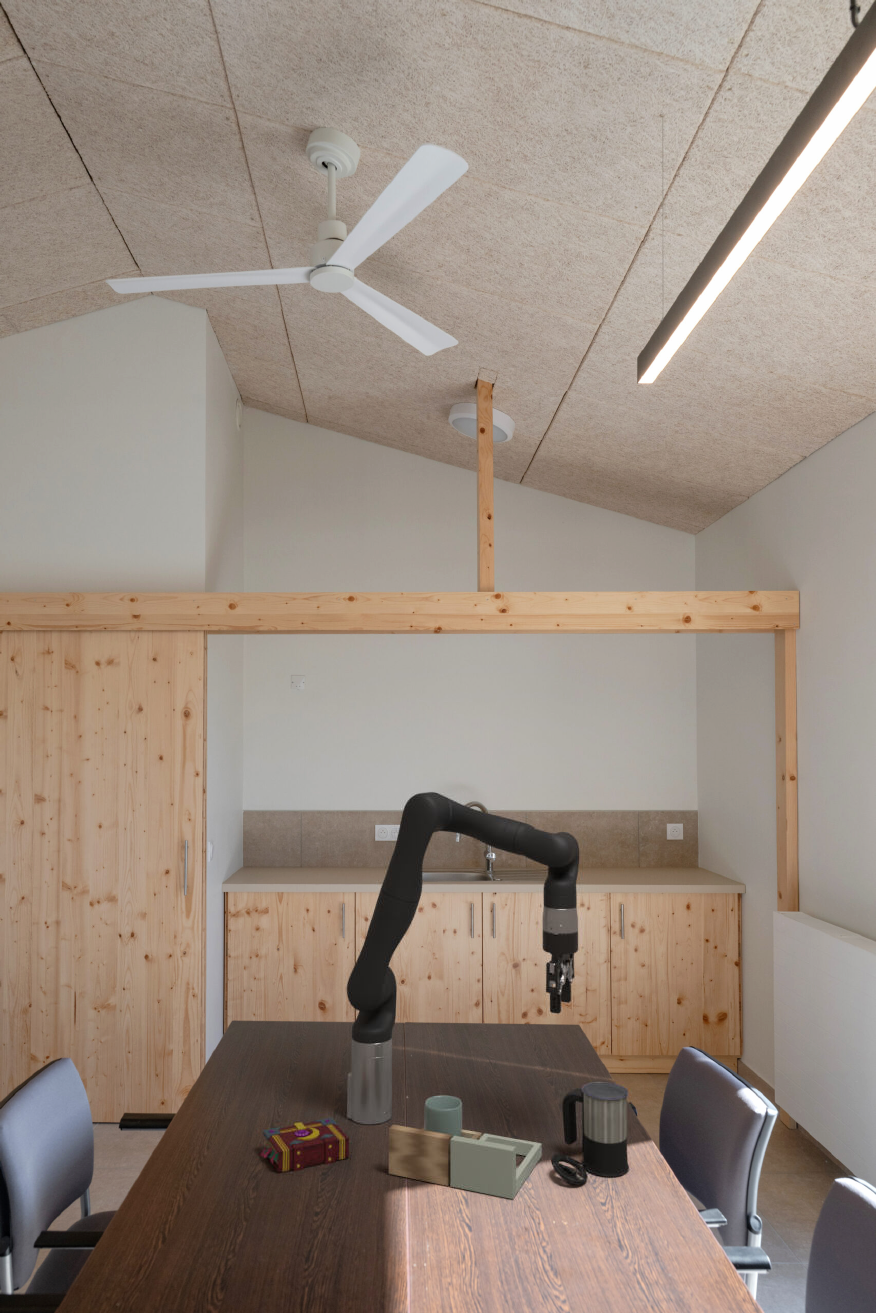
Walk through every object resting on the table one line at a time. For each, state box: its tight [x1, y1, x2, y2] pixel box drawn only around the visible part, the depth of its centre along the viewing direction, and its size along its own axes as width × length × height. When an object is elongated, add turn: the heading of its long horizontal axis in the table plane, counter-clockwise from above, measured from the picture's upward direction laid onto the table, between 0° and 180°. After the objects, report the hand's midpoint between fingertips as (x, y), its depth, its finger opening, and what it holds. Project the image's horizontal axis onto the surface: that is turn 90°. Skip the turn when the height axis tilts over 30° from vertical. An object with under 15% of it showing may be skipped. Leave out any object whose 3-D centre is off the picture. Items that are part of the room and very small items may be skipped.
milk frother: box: [550, 1081, 630, 1185], centre depth 176 cm, size 14×16×15 cm
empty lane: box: [449, 1133, 543, 1200], centre depth 176 cm, size 12×19×8 cm, turn 157°
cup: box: [424, 1094, 463, 1138], centre depth 184 cm, size 8×8×10 cm
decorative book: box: [259, 1117, 350, 1173], centre depth 182 cm, size 11×16×5 cm
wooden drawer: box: [388, 1124, 483, 1186], centre depth 181 cm, size 12×19×8 cm, turn 157°
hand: (560, 1007), depth 187 cm, fingers open, 8 cm apart
